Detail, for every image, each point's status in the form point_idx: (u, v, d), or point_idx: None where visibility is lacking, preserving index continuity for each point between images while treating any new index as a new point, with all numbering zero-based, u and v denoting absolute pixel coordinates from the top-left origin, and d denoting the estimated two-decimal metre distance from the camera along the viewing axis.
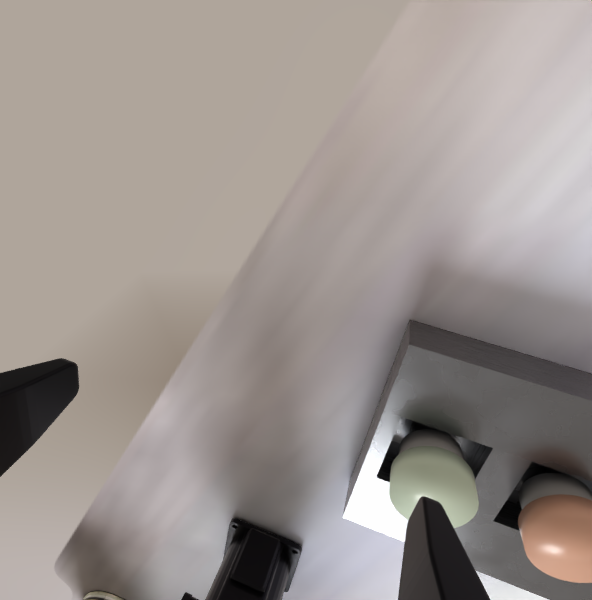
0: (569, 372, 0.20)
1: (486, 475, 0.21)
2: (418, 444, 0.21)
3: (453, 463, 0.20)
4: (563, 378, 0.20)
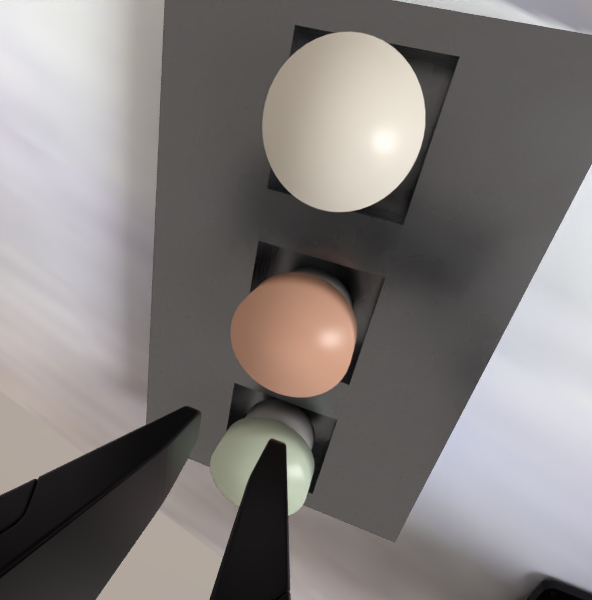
0: None
1: None
2: None
3: (218, 445, 0.17)
4: None
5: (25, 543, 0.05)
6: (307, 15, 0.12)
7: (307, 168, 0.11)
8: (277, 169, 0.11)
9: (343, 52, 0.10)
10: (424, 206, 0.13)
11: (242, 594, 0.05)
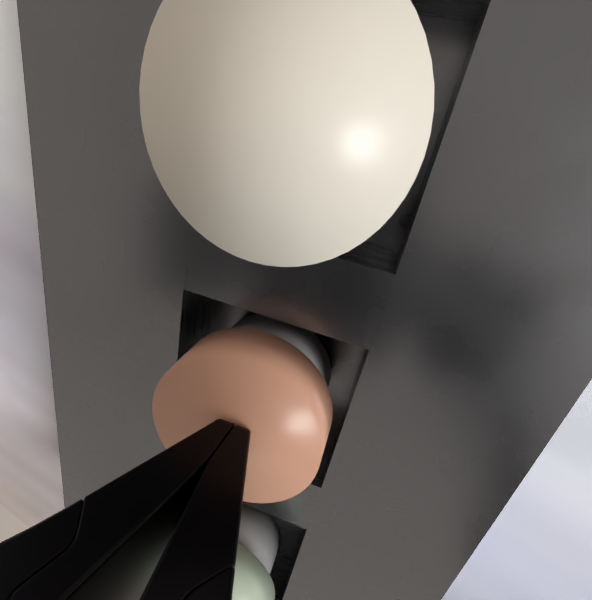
0: None
1: None
2: None
3: None
4: None
5: (77, 567, 0.05)
6: None
7: (223, 191, 0.06)
8: (174, 193, 0.06)
9: None
10: (429, 247, 0.08)
11: (185, 568, 0.05)
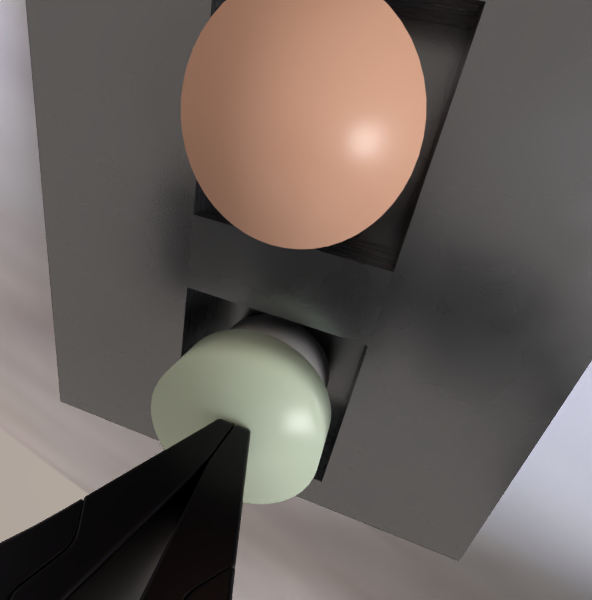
0: None
1: (256, 294, 0.10)
2: None
3: None
4: None
5: (77, 567, 0.05)
6: None
7: None
8: None
9: None
10: None
11: (185, 568, 0.05)
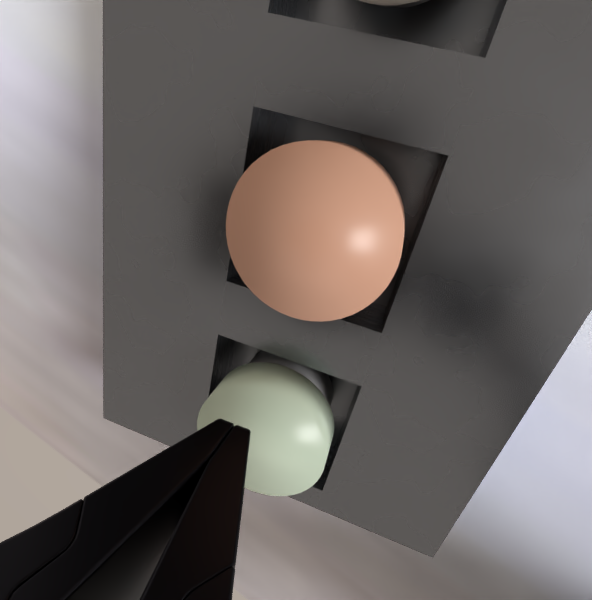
0: None
1: (273, 342, 0.12)
2: None
3: None
4: None
5: (77, 567, 0.05)
6: None
7: None
8: None
9: None
10: (525, 18, 0.08)
11: (185, 568, 0.05)
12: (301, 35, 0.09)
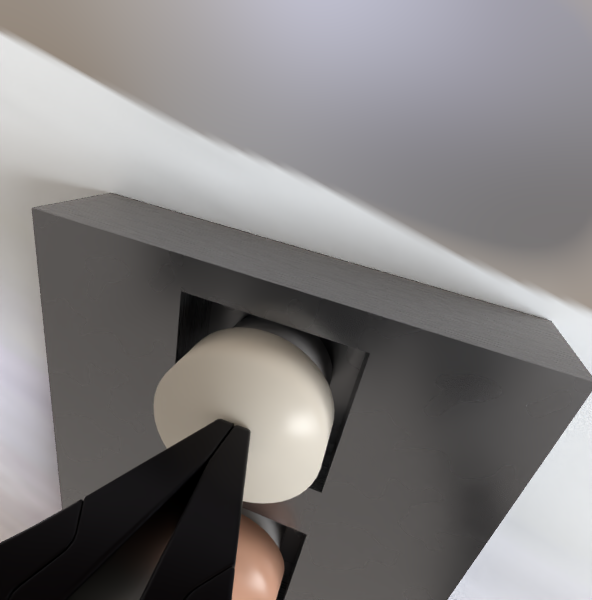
0: None
1: None
2: None
3: None
4: None
5: (77, 568, 0.05)
6: (193, 284, 0.10)
7: None
8: None
9: (229, 373, 0.09)
10: (343, 481, 0.11)
11: (185, 568, 0.05)
12: None
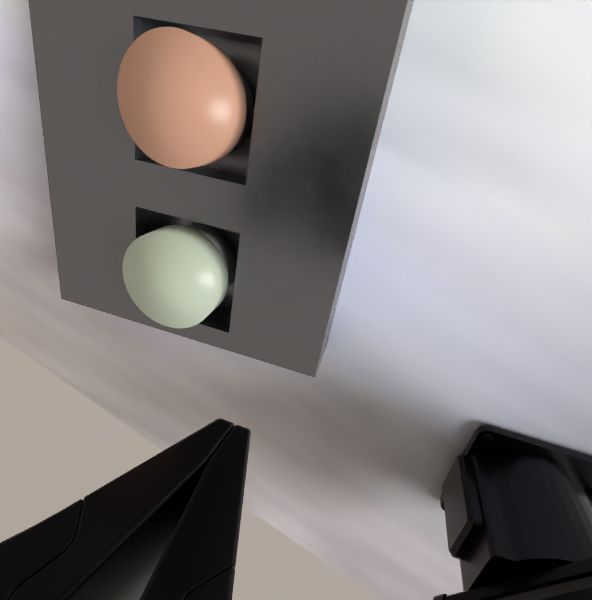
0: None
1: (175, 206, 0.17)
2: None
3: None
4: None
5: (77, 567, 0.05)
6: None
7: None
8: None
9: None
10: None
11: (185, 568, 0.05)
12: None
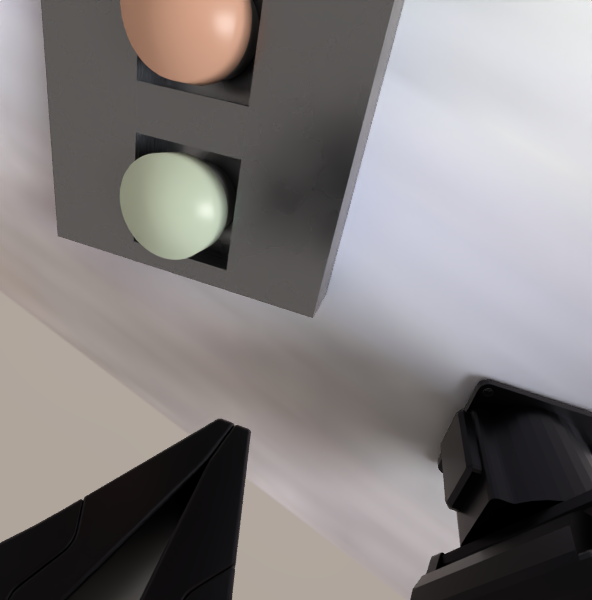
0: None
1: (175, 131, 0.16)
2: None
3: None
4: None
5: (77, 568, 0.05)
6: None
7: None
8: None
9: None
10: None
11: (185, 568, 0.05)
12: None
